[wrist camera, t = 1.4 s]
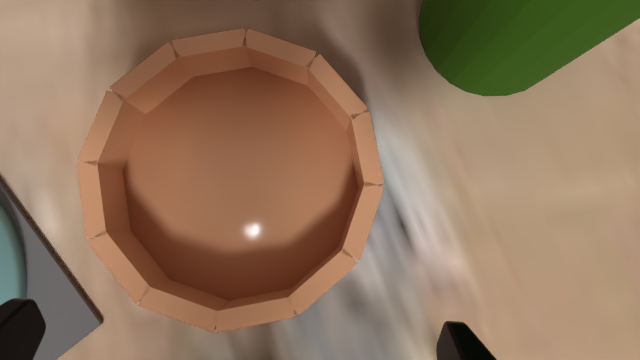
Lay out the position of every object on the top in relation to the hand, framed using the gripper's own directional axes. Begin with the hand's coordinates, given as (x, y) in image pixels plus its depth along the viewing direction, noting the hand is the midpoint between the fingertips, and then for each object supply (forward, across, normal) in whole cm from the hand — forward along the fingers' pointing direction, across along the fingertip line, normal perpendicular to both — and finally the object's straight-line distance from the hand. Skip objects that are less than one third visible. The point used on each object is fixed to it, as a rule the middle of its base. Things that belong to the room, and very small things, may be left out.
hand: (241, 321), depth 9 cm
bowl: (+14, +3, +5) cm, 15 cm away
